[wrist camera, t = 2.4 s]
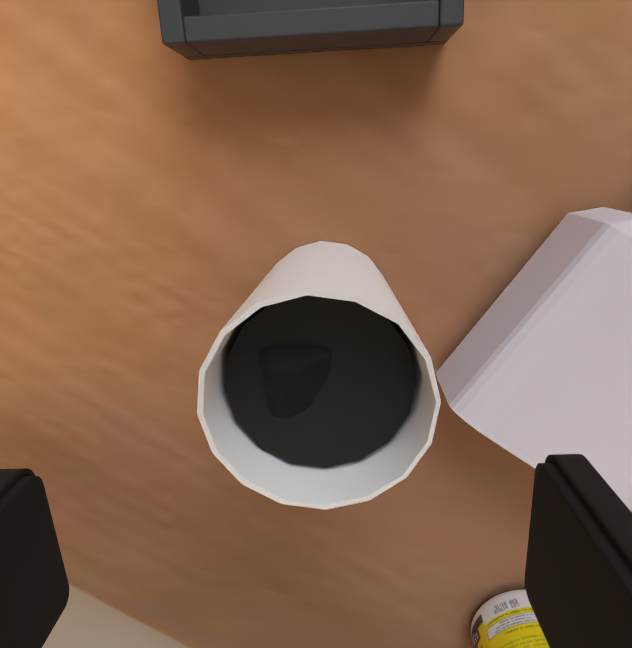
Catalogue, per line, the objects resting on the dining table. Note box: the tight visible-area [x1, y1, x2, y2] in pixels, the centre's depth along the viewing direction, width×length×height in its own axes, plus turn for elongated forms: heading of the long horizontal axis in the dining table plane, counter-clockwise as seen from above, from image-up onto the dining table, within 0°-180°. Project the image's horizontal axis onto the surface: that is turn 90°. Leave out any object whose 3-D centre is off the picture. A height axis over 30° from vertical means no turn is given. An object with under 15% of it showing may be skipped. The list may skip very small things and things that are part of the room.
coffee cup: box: [197, 241, 441, 510], centre depth 19 cm, size 7×7×10 cm
